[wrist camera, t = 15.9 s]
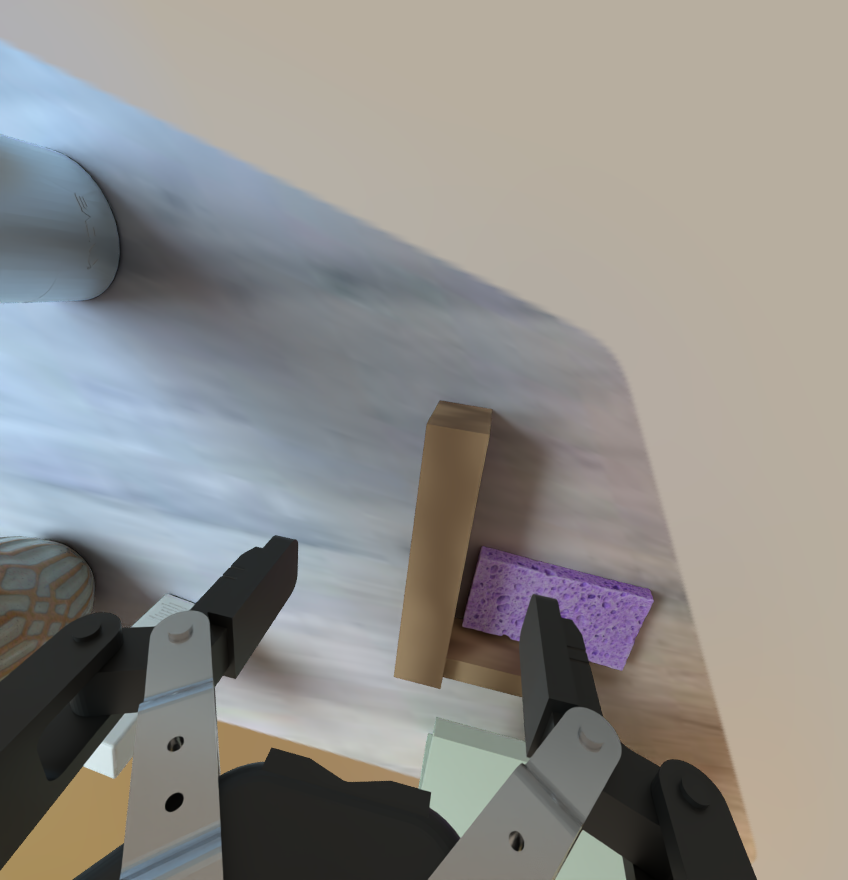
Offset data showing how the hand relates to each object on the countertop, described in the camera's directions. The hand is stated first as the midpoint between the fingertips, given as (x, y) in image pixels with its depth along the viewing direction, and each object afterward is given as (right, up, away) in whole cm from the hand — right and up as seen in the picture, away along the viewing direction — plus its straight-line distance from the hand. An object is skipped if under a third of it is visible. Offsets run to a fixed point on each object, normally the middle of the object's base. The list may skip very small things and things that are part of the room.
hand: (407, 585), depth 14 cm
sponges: (+10, -7, +18) cm, 22 cm away
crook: (+7, -3, +16) cm, 18 cm away
